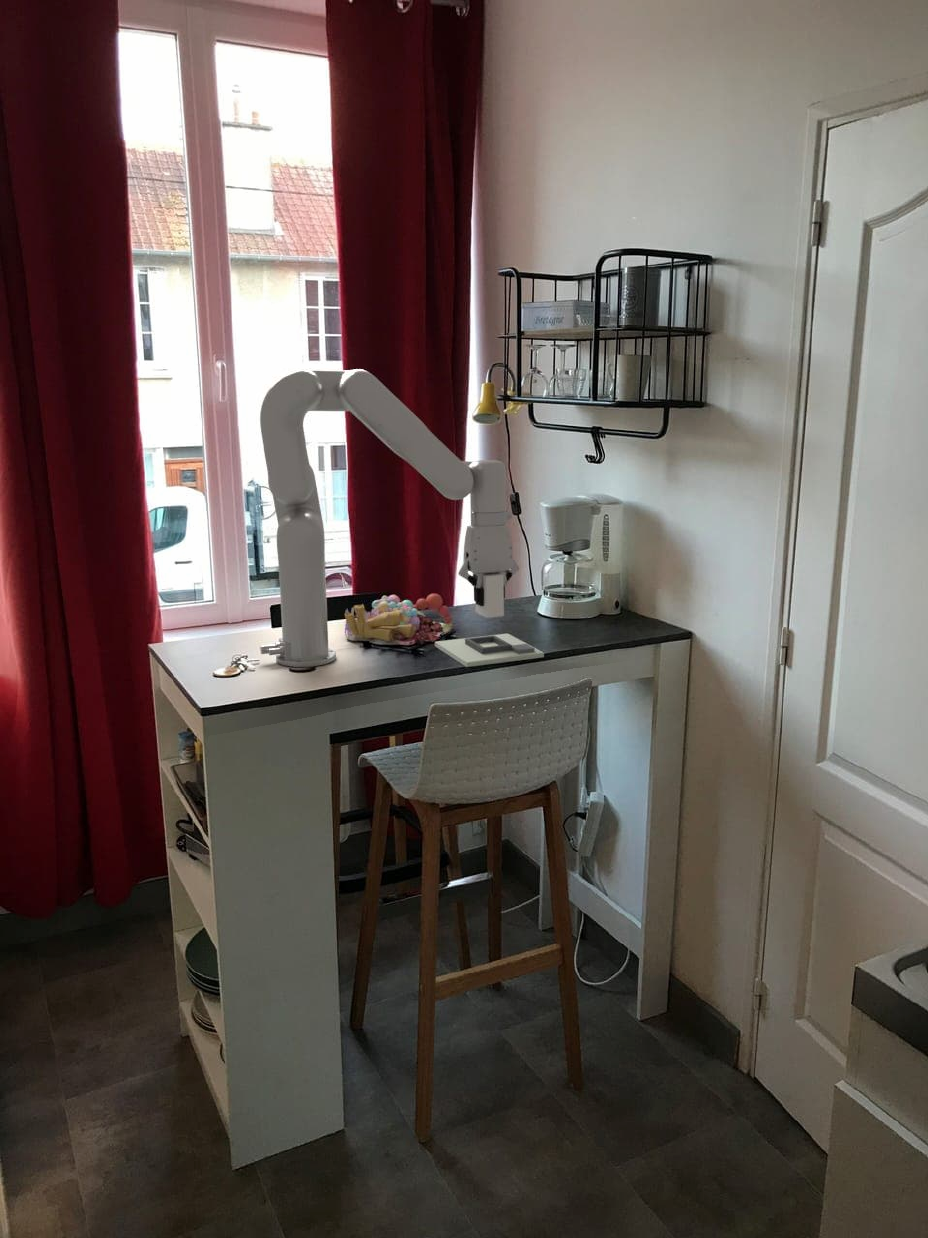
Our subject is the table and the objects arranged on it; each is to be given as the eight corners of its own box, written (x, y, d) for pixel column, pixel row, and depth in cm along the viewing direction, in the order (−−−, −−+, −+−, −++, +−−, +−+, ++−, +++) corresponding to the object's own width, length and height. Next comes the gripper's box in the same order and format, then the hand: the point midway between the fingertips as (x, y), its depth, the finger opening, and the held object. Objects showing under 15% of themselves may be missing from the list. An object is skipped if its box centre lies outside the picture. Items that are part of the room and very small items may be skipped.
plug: (475, 612, 213) (474, 562, 210) (492, 610, 214) (491, 561, 212) (486, 618, 207) (486, 567, 205) (503, 615, 209) (503, 565, 206)
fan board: (466, 667, 201) (466, 656, 201) (434, 646, 217) (434, 636, 217) (543, 657, 208) (544, 647, 207) (507, 637, 224) (507, 628, 224)
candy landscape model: (429, 652, 214) (429, 611, 212) (330, 645, 220) (328, 605, 218) (458, 625, 238) (458, 588, 235) (368, 619, 243) (367, 583, 241)
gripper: (516, 514, 212) (516, 596, 217) (445, 520, 206) (447, 604, 210) (531, 518, 206) (532, 603, 210) (458, 524, 199) (460, 611, 204)
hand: (489, 602), depth 210 cm, fingers closed on plug, 4 cm apart
